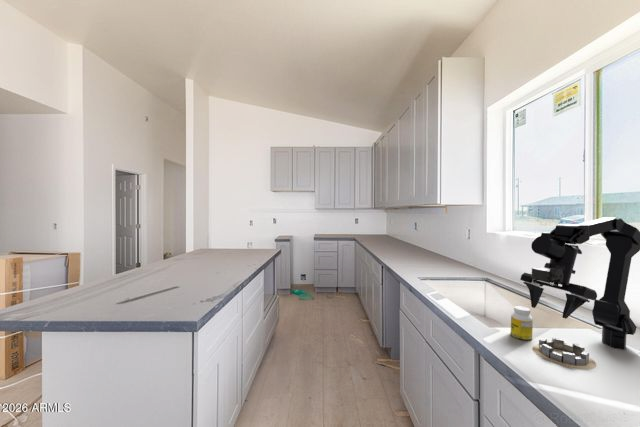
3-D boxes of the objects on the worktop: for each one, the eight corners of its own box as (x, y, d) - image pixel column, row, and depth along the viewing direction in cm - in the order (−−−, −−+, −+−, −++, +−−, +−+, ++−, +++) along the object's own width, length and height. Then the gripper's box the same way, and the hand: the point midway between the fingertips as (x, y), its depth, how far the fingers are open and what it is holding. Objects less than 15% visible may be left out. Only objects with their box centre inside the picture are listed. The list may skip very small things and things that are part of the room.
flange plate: (527, 343, 99) (527, 340, 99) (584, 353, 93) (585, 350, 93) (538, 364, 86) (538, 361, 86) (606, 378, 79) (606, 374, 79)
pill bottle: (507, 334, 106) (508, 304, 105) (526, 336, 104) (527, 306, 104) (515, 342, 100) (516, 310, 99) (535, 344, 98) (536, 312, 98)
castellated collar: (535, 343, 97) (535, 334, 97) (579, 351, 92) (580, 342, 92) (544, 359, 86) (544, 349, 86) (594, 369, 82) (595, 359, 81)
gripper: (514, 251, 97) (501, 296, 96) (577, 261, 79) (562, 317, 78) (538, 261, 100) (526, 305, 99) (604, 272, 82) (590, 327, 81)
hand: (547, 312), depth 89 cm, fingers open, 9 cm apart
